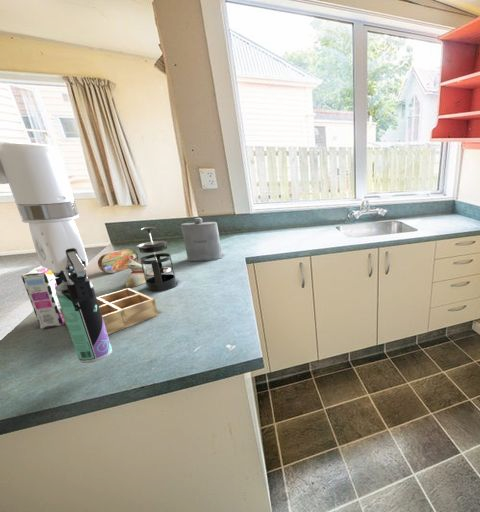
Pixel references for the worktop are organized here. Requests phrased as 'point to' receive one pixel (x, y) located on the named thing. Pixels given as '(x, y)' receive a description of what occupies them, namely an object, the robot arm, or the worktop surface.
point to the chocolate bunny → (135, 274)
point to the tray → (124, 309)
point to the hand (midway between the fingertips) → (77, 296)
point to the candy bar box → (43, 296)
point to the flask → (201, 240)
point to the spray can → (84, 325)
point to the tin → (117, 260)
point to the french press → (157, 265)
